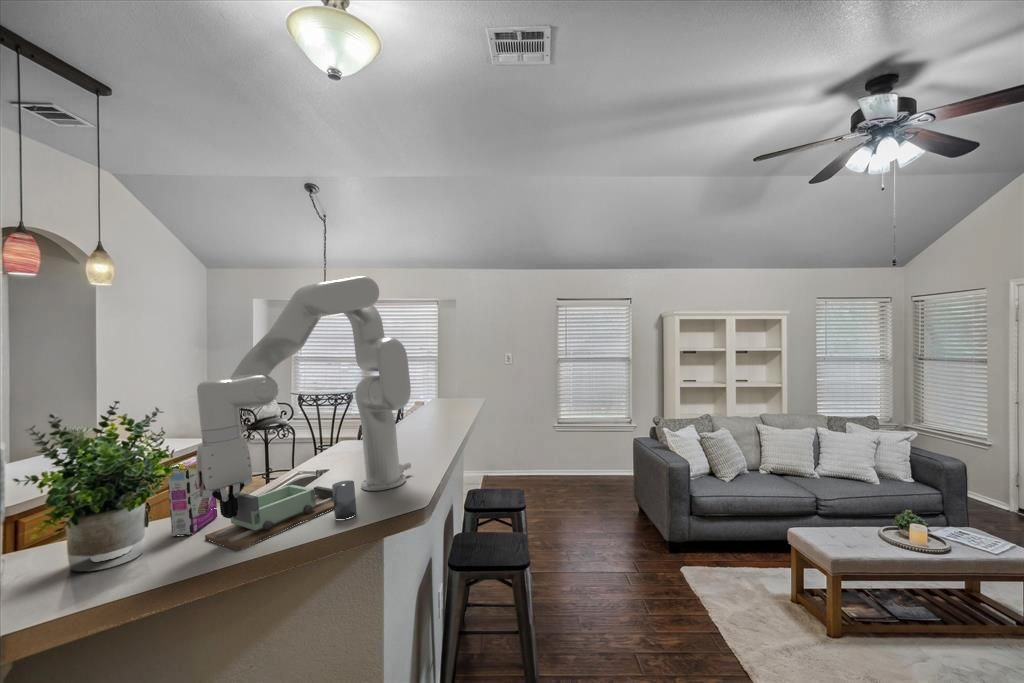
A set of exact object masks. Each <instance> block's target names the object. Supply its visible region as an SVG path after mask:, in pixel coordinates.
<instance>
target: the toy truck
mask: <svg viewBox="0 0 1024 683" xmlns="http://www.w3.org/2000/svg"><path fill="white" fill-rule="evenodd" d="M237 502H238V511H237V516H235V517H232V518H230V523H231V525H233V524H236V525H239V526H242V527H246V528H249V529H252V530H258V529H260V528H264V529H266V530H270V529H271V528H272V527H273V523H275V522H277V521H280V520H282V519H285V518H287V517H290V516H292V515H295V514H297V513H300V512H302V511H304V512H305V513H310V512H311V511H312V509H313V508H312V507H314V506H316V497H315V489H314V488H311V487H306V486H301V485H296V484H289V485H288V484H287V485H285V486H283V487H280V488H276V489H273V490H270V491H268V492H265V493H262V494H259V495H254V494H248V493H244V492H240V493H239V497H237Z"/></svg>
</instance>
